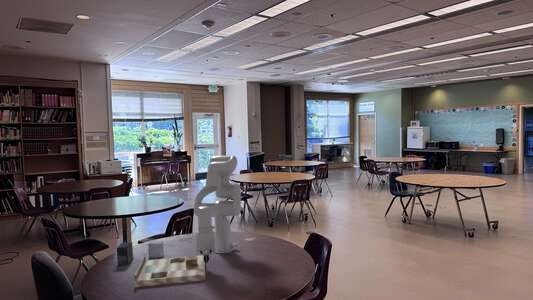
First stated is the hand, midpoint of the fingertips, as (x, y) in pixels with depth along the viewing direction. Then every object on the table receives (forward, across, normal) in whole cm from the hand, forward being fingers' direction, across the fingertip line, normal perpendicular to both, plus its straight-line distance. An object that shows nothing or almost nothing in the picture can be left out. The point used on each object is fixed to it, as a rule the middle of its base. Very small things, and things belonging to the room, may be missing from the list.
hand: (206, 262), depth 198 cm
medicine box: (+4, +30, -30) cm, 43 cm away
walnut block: (+1, +8, 0) cm, 8 cm away
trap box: (+4, +18, 0) cm, 18 cm away
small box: (+4, +47, -25) cm, 53 cm away
